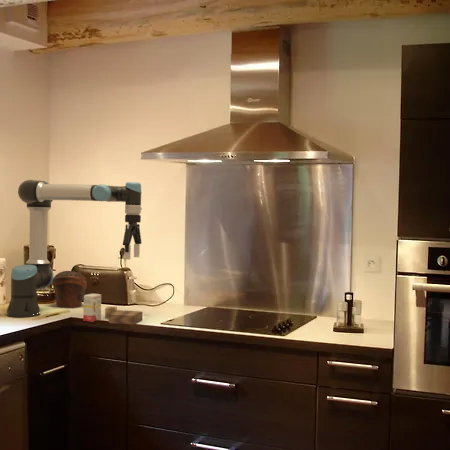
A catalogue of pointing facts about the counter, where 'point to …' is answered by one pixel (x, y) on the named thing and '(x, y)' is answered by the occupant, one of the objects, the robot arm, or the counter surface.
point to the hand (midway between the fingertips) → (132, 258)
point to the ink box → (92, 307)
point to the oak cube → (109, 311)
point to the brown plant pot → (69, 289)
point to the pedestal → (125, 317)
